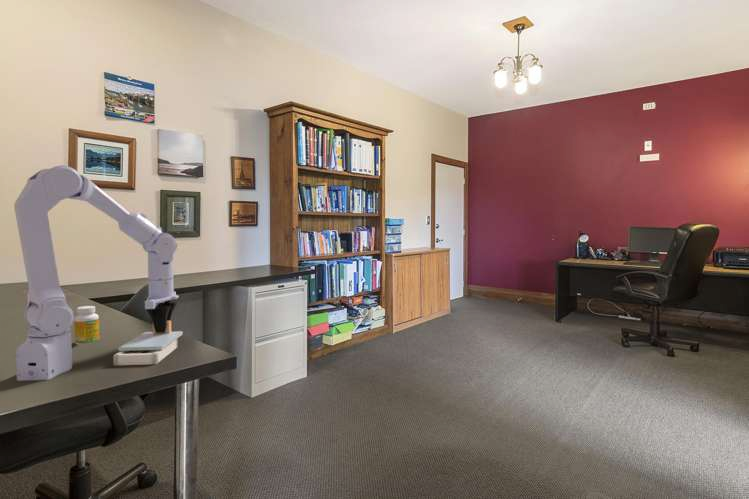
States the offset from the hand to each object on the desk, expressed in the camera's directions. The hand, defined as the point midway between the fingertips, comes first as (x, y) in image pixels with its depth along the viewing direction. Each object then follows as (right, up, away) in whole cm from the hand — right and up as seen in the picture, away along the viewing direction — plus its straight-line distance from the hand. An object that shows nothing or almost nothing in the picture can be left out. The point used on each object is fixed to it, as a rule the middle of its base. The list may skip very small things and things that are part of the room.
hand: (162, 331), depth 105 cm
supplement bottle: (-23, -4, +5) cm, 23 cm away
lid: (+1, -2, -6) cm, 6 cm away
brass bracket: (0, -4, -12) cm, 13 cm away
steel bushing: (+3, -4, -9) cm, 10 cm away
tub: (+1, -5, -8) cm, 10 cm away
